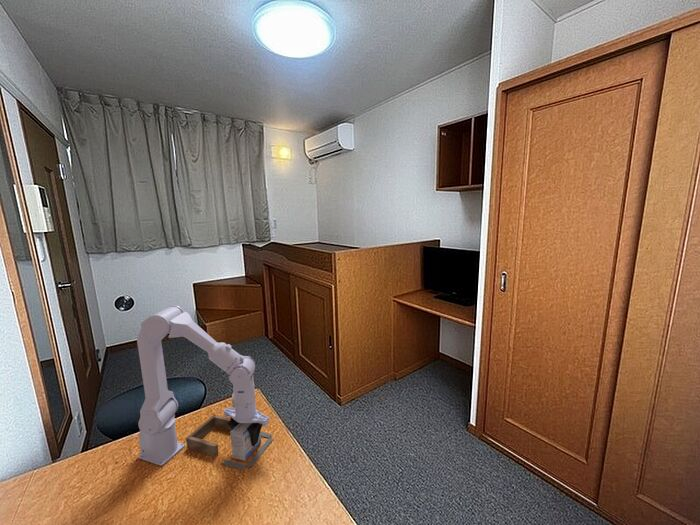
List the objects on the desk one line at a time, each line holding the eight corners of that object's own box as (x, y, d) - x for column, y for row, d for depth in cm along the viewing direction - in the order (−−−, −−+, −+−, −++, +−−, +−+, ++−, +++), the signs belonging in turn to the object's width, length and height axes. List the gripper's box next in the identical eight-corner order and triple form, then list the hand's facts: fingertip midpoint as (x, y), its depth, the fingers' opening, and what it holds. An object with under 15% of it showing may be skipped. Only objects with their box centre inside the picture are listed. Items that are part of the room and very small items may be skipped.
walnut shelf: (187, 448, 90) (186, 438, 90) (214, 424, 101) (214, 414, 100) (215, 457, 87) (214, 446, 86) (241, 431, 97) (240, 421, 97)
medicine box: (245, 462, 85) (242, 434, 83) (232, 458, 86) (229, 431, 85) (261, 442, 92) (259, 416, 91) (249, 439, 94) (247, 413, 92)
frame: (222, 464, 84) (222, 463, 84) (253, 430, 97) (253, 429, 97) (247, 472, 82) (247, 471, 81) (276, 436, 95) (276, 435, 95)
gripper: (274, 396, 89) (276, 437, 91) (233, 388, 93) (237, 427, 95) (259, 411, 82) (262, 455, 84) (217, 401, 87) (220, 443, 89)
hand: (248, 441), depth 89 cm, fingers closed on medicine box, 4 cm apart
